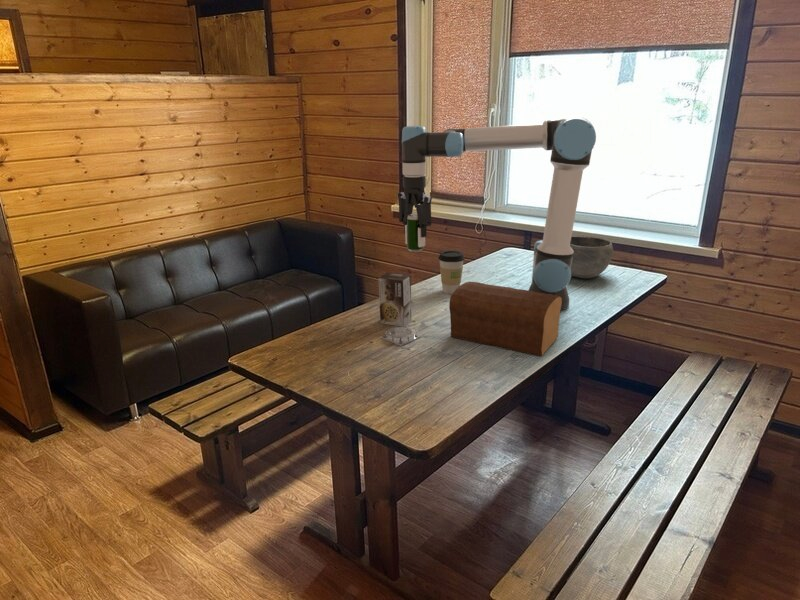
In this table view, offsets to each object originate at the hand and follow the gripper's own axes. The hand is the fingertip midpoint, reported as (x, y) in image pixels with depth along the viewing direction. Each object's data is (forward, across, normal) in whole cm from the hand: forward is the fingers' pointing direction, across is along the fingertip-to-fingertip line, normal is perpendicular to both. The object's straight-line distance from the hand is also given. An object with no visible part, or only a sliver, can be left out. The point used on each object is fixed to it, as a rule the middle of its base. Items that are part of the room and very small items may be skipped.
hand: (415, 244), depth 197 cm
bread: (+24, -37, -1) cm, 44 cm away
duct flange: (+23, -14, +21) cm, 34 cm away
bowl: (+24, -24, -74) cm, 81 cm away
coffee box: (+24, -3, +13) cm, 27 cm away
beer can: (+2, 0, 0) cm, 2 cm away
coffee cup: (+24, +3, -23) cm, 33 cm away
